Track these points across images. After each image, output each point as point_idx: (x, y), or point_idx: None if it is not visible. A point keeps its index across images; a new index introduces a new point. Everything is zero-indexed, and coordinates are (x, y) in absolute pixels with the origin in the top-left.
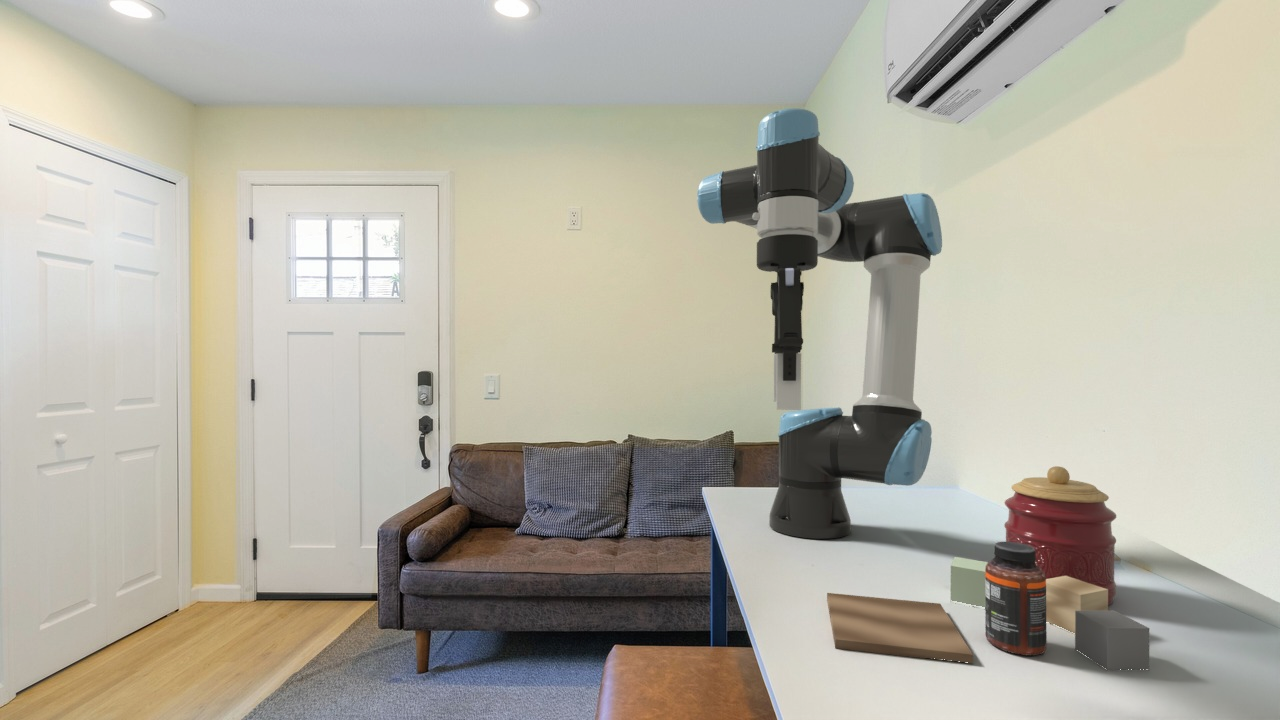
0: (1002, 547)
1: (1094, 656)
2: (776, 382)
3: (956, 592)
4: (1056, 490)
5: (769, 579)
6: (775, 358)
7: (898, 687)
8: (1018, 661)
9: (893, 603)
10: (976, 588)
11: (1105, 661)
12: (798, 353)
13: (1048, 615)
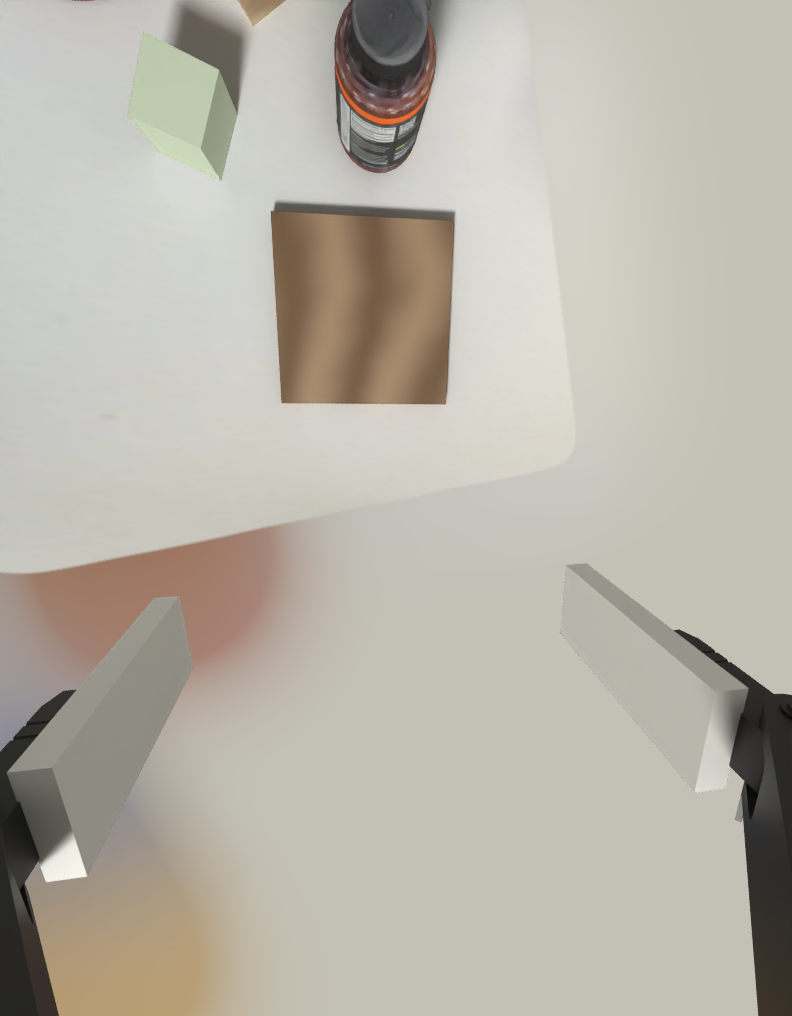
0: (406, 54)
1: None
2: (161, 716)
3: (218, 161)
4: None
5: (219, 490)
6: (102, 839)
7: (523, 340)
8: (428, 149)
9: (296, 297)
10: (223, 117)
11: (427, 1)
12: (744, 700)
13: (264, 3)
